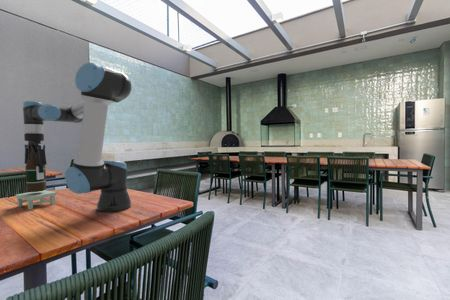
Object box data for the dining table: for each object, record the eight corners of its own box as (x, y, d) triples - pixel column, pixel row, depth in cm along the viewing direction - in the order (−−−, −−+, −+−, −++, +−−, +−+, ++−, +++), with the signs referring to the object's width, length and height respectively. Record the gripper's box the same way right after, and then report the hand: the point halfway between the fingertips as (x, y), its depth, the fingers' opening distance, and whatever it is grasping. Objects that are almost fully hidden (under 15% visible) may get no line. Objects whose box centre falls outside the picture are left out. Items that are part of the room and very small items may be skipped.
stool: (56, 203, 119) (56, 192, 119) (28, 210, 108) (28, 197, 108) (43, 200, 124) (43, 189, 124) (15, 206, 114) (15, 194, 113)
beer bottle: (22, 191, 113) (20, 143, 112) (37, 188, 121) (36, 142, 119) (34, 192, 111) (33, 143, 110) (50, 189, 119) (48, 143, 118)
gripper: (54, 133, 114) (55, 179, 115) (32, 133, 122) (33, 176, 123) (36, 132, 107) (38, 181, 108) (14, 133, 116) (16, 178, 117)
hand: (35, 178), depth 116 cm, fingers closed on beer bottle, 7 cm apart
